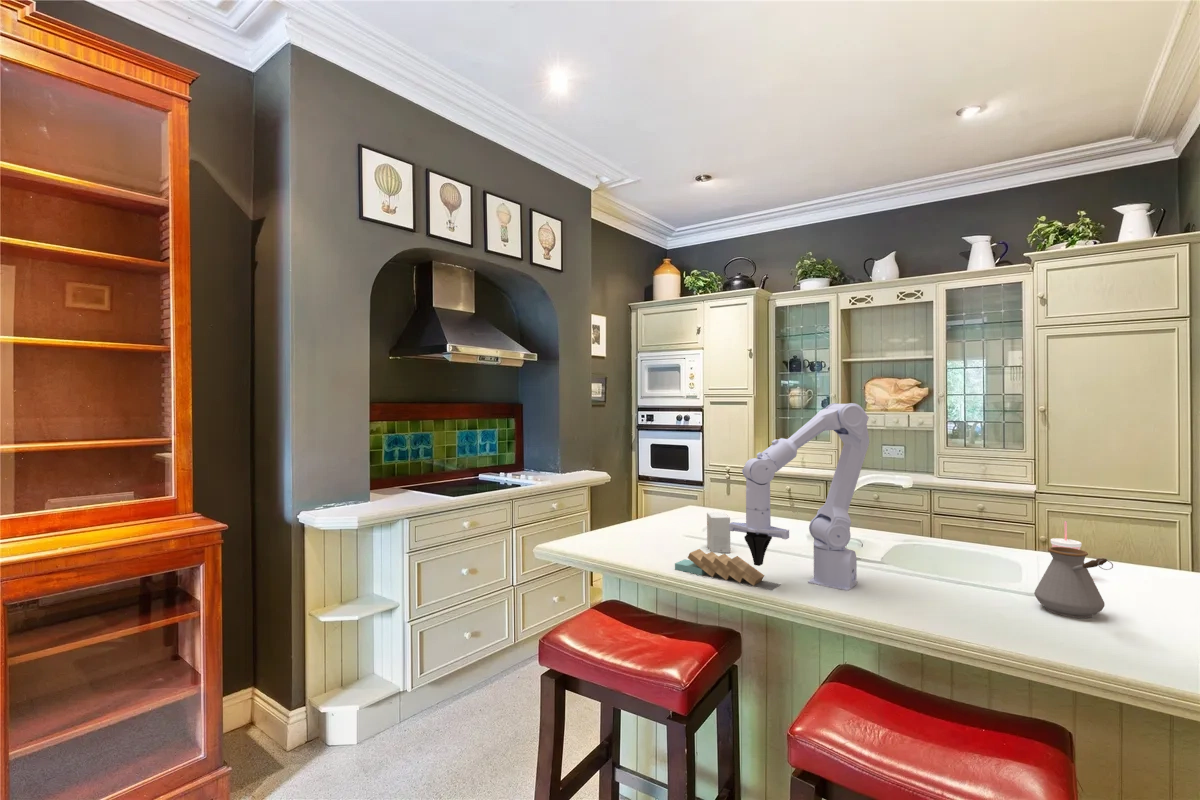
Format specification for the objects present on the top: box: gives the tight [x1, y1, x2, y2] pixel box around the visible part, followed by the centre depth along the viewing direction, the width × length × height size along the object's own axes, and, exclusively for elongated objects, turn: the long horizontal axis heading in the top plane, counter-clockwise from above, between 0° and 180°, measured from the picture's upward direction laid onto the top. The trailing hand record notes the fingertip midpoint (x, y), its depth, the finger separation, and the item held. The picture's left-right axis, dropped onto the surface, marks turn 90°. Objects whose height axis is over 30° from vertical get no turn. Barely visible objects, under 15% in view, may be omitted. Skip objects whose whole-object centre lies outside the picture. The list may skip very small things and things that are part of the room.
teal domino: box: [674, 559, 706, 576], centre depth 150 cm, size 2×5×8 cm
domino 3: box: [713, 553, 745, 583], centre depth 143 cm, size 2×5×8 cm
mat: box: [692, 573, 782, 591], centre depth 143 cm, size 21×6×1 cm, turn 51°
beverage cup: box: [1050, 520, 1083, 550], centre depth 145 cm, size 6×6×14 cm
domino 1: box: [687, 548, 718, 577], centre depth 148 cm, size 2×5×8 cm
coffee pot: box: [1034, 546, 1114, 619], centre depth 116 cm, size 21×12×15 cm, turn 162°
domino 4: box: [726, 555, 765, 587], centre depth 141 cm, size 2×5×8 cm
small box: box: [706, 512, 731, 554], centre depth 172 cm, size 8×6×10 cm
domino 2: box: [701, 551, 732, 580], centre depth 145 cm, size 2×5×8 cm
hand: (758, 564), depth 139 cm, fingers closed
